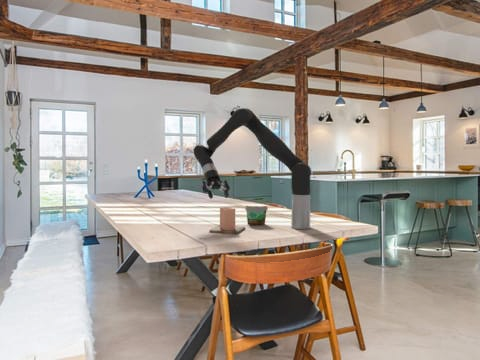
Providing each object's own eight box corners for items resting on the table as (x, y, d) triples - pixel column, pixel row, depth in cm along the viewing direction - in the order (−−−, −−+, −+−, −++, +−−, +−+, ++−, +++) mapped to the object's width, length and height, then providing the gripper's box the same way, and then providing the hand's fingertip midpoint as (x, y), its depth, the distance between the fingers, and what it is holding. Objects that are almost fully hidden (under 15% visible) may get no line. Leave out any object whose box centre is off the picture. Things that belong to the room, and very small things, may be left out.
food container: (242, 225, 185) (242, 206, 184) (245, 223, 191) (245, 205, 190) (265, 226, 182) (265, 207, 181) (267, 224, 188) (267, 205, 187)
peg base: (245, 229, 175) (245, 212, 175) (237, 234, 163) (237, 216, 162) (218, 227, 179) (218, 211, 179) (209, 232, 167) (209, 215, 166)
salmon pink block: (230, 227, 175) (230, 207, 174) (235, 229, 170) (235, 208, 169) (219, 228, 172) (219, 207, 171) (224, 230, 167) (224, 209, 167)
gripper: (200, 169, 182) (208, 193, 172) (224, 169, 188) (234, 192, 179) (196, 178, 187) (204, 202, 177) (220, 178, 193) (229, 201, 184)
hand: (219, 197), depth 178 cm, fingers open, 8 cm apart
